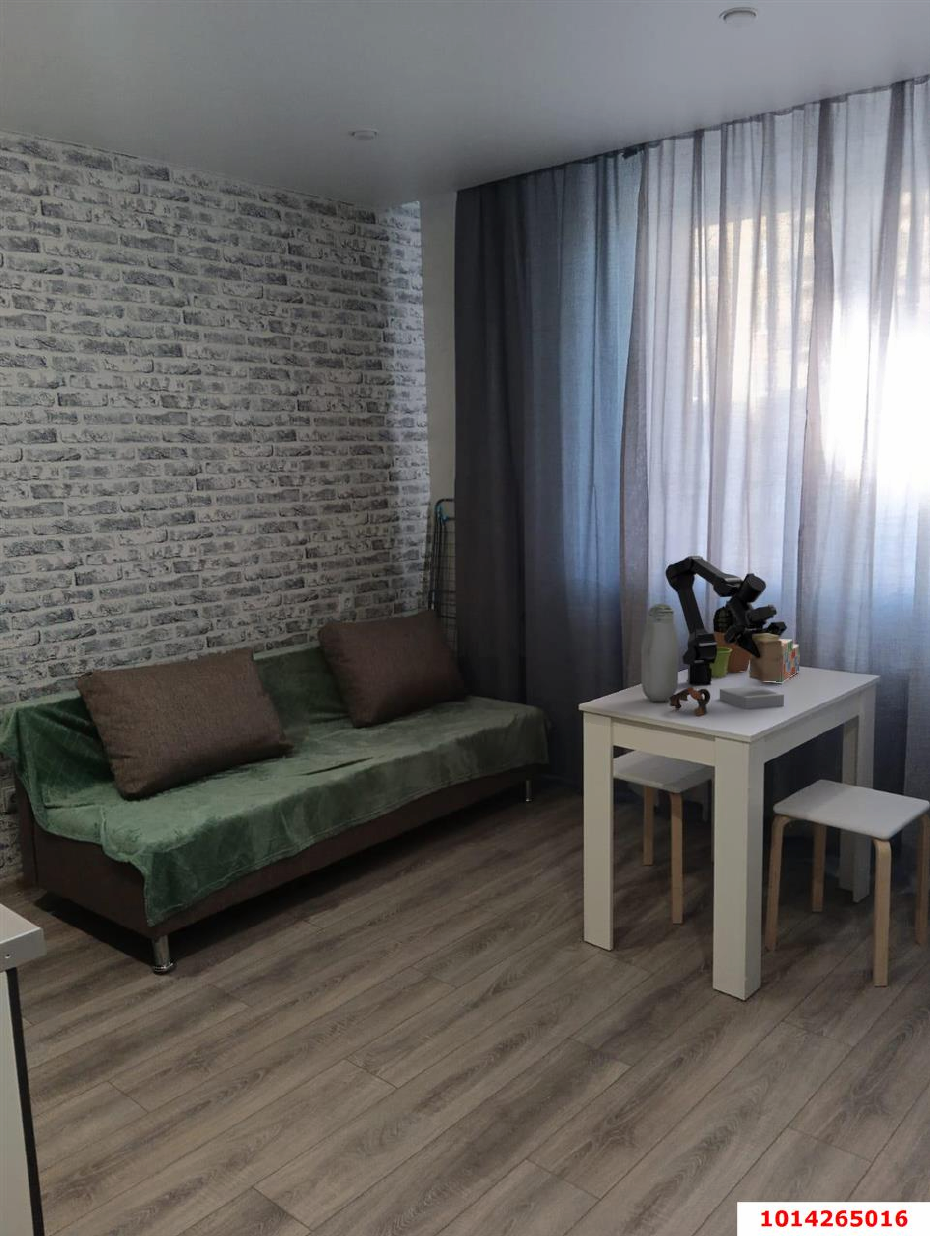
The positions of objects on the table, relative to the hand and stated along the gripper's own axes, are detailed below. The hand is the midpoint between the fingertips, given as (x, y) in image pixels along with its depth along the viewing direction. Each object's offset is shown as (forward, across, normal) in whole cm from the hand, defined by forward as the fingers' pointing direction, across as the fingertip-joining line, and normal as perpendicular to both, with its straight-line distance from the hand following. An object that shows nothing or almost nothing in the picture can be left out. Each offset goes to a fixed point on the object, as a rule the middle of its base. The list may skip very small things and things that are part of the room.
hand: (768, 656), depth 295 cm
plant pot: (-18, +12, +38) cm, 44 cm away
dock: (+8, -4, +11) cm, 14 cm away
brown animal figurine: (+10, -26, +10) cm, 29 cm away
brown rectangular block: (+4, 0, +6) cm, 7 cm away
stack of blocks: (-10, +29, +29) cm, 42 cm away
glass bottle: (-2, -25, +21) cm, 33 cm away
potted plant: (-22, +23, +42) cm, 52 cm away
